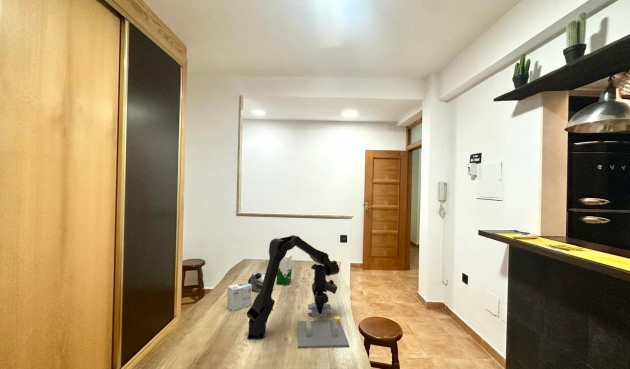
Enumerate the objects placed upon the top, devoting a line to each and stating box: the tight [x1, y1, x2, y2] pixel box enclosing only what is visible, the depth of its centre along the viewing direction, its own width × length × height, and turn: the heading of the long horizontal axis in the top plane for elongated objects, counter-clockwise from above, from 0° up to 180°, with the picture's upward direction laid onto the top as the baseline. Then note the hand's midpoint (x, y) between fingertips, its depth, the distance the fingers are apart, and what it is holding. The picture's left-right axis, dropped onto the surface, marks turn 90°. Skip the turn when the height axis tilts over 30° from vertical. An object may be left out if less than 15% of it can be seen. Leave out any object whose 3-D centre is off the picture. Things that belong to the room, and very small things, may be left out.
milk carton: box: [276, 253, 293, 286], centre depth 179 cm, size 9×9×20 cm
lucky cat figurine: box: [247, 270, 266, 293], centre depth 167 cm, size 15×12×14 cm
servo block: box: [307, 302, 332, 318], centre depth 136 cm, size 11×4×6 cm, turn 95°
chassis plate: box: [296, 316, 350, 349], centre depth 118 cm, size 20×20×4 cm
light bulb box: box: [226, 281, 253, 312], centre depth 143 cm, size 11×7×11 cm, turn 134°
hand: (319, 309), depth 136 cm, fingers open, 9 cm apart
